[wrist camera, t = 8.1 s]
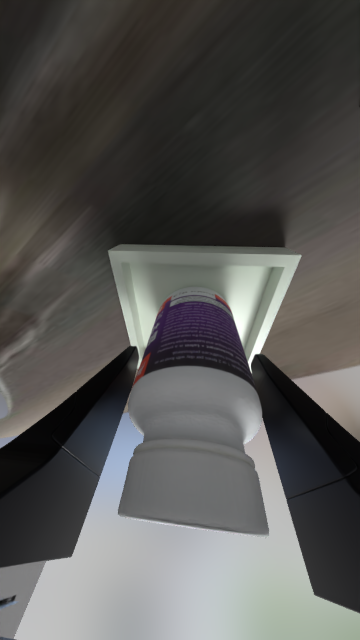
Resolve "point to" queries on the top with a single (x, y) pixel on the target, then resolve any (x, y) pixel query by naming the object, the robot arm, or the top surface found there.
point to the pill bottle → (195, 422)
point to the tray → (203, 284)
